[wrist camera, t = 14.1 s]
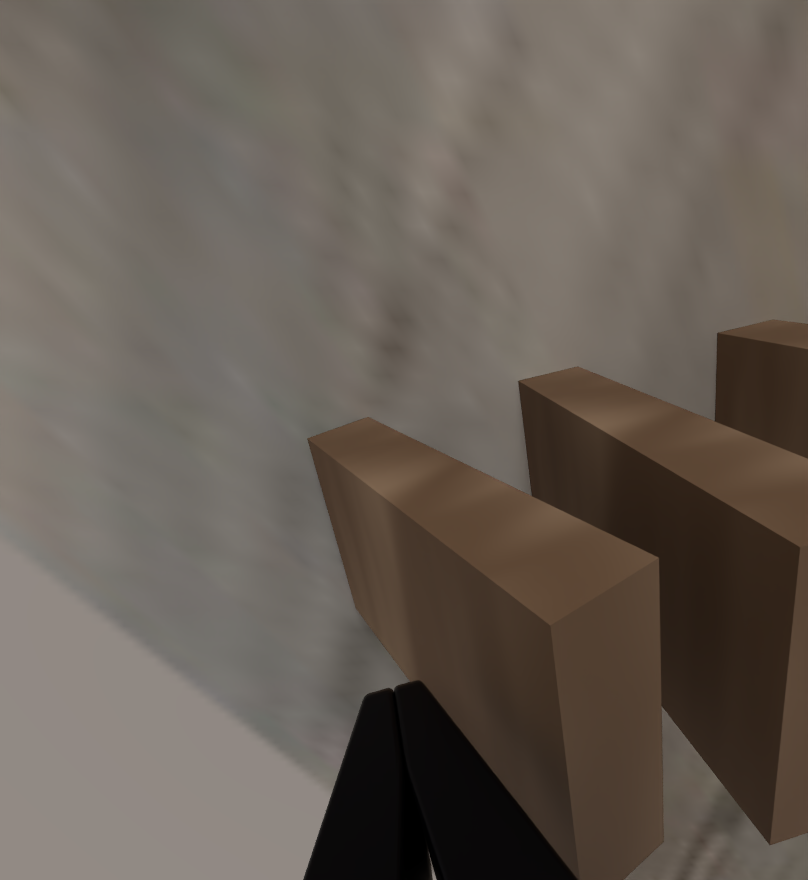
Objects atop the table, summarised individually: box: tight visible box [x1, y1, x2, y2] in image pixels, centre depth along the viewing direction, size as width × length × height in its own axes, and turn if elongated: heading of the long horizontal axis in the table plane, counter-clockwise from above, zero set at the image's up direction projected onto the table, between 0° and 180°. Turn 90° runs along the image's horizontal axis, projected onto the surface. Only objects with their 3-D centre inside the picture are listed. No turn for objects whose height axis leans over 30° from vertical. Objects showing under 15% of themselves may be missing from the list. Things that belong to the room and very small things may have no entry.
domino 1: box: [307, 417, 664, 880], centre depth 10 cm, size 2×5×8 cm, turn 12°
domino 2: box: [519, 367, 808, 845], centre depth 10 cm, size 2×5×8 cm, turn 11°
